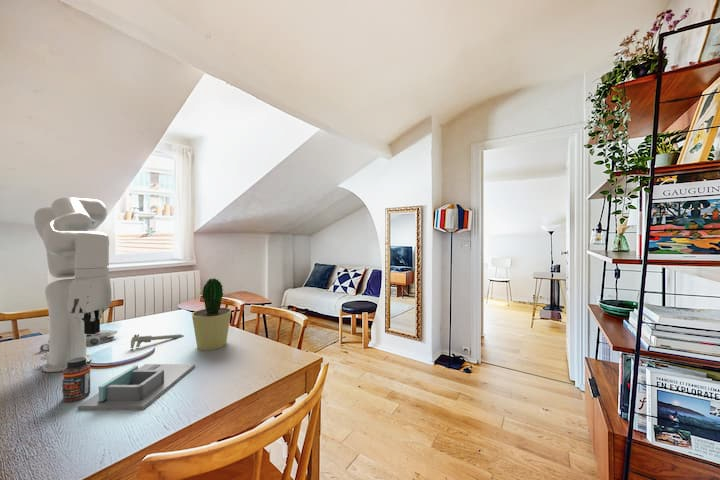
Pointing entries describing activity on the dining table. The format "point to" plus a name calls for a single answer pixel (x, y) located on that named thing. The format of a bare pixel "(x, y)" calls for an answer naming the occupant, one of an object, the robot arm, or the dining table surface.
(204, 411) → the dining table surface
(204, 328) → the potted cactus
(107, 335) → the car model
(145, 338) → the caliper
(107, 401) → the housing
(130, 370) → the bar
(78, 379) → the supplement bottle
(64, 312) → the robot arm
